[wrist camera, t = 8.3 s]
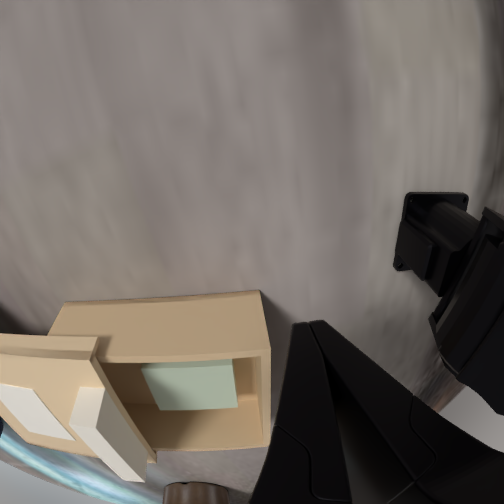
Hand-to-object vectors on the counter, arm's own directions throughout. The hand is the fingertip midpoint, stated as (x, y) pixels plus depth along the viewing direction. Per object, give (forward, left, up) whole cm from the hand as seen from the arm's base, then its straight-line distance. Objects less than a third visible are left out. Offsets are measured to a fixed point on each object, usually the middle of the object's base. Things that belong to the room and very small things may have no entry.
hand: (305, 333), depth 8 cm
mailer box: (+8, +15, -13) cm, 21 cm away
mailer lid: (+19, +15, -8) cm, 25 cm away
